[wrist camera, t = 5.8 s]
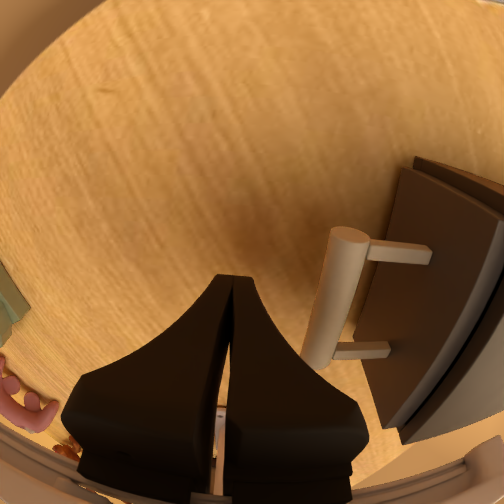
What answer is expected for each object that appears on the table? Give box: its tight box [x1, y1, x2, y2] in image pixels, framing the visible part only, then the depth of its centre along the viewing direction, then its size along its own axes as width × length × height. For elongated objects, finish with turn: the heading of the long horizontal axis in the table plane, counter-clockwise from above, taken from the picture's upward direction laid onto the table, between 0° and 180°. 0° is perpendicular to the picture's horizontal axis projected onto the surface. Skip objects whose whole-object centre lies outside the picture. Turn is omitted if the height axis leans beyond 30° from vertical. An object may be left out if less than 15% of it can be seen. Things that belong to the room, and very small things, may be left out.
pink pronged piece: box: [0, 356, 59, 433], centre depth 21 cm, size 10×5×7 cm, turn 43°
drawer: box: [300, 167, 504, 429], centre depth 11 cm, size 16×10×7 cm, turn 85°
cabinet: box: [397, 156, 504, 445], centre depth 11 cm, size 13×12×9 cm
